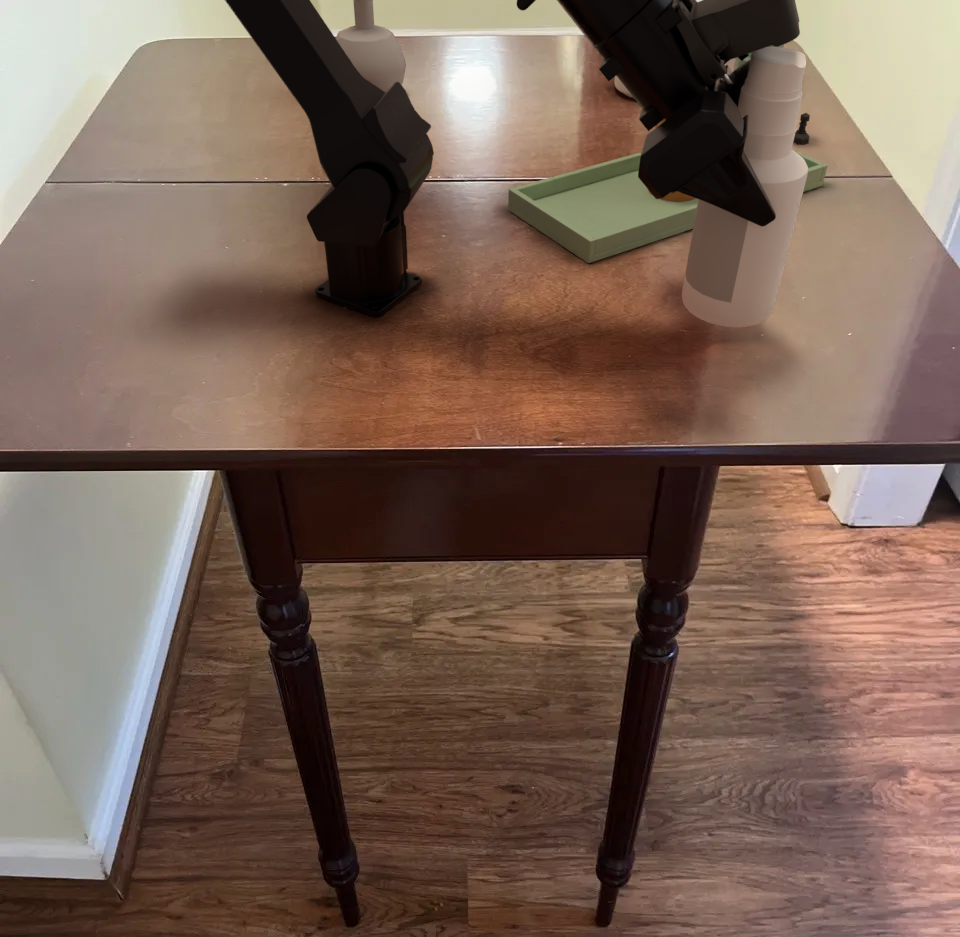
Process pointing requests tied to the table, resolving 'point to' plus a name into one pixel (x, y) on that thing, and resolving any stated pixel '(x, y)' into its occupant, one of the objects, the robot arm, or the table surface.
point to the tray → (610, 208)
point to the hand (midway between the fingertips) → (770, 199)
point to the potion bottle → (372, 48)
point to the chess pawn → (802, 130)
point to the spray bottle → (782, 173)
